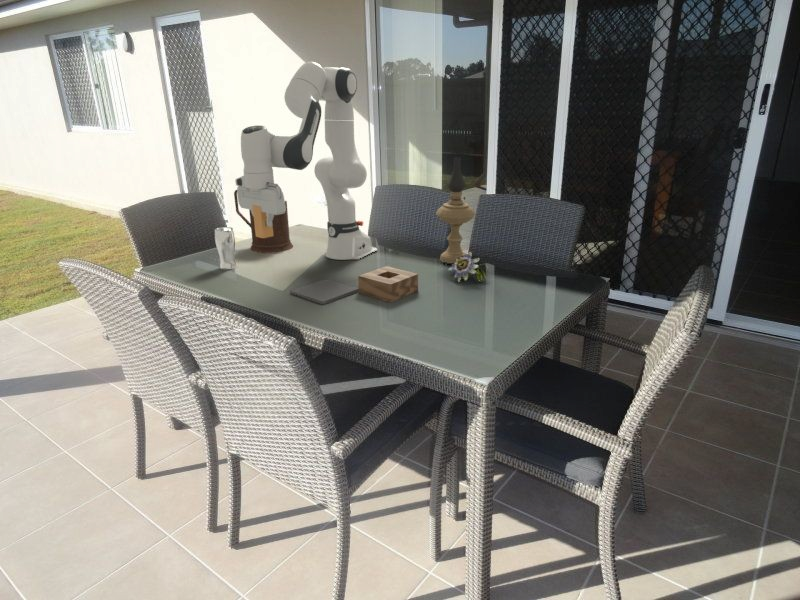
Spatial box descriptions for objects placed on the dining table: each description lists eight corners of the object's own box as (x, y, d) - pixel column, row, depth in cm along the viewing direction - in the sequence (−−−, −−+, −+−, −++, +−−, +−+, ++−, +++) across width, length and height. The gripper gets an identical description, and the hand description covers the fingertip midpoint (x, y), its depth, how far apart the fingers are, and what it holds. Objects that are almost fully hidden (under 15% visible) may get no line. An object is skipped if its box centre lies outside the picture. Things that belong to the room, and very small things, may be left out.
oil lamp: (479, 264, 208) (485, 158, 194) (445, 268, 203) (448, 160, 189) (461, 254, 221) (465, 154, 207) (428, 258, 216) (430, 156, 202)
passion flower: (459, 296, 190) (440, 268, 189) (474, 282, 198) (456, 255, 197) (481, 285, 182) (462, 255, 181) (496, 271, 189) (478, 243, 188)
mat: (326, 281, 188) (325, 279, 188) (358, 291, 179) (358, 288, 178) (290, 293, 177) (290, 290, 177) (323, 304, 167) (322, 301, 167)
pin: (266, 234, 174) (263, 203, 171) (273, 236, 172) (270, 205, 168) (255, 236, 172) (252, 205, 168) (263, 238, 169) (260, 206, 166)
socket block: (386, 282, 188) (386, 266, 185) (418, 291, 179) (418, 273, 177) (358, 292, 178) (358, 275, 175) (390, 302, 169) (390, 284, 167)
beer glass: (240, 265, 208) (236, 227, 203) (233, 270, 202) (229, 231, 196) (223, 264, 209) (218, 226, 204) (215, 269, 202) (210, 230, 197)
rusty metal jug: (283, 254, 223) (278, 193, 214) (230, 251, 228) (223, 192, 219) (299, 243, 240) (295, 187, 231) (250, 240, 245) (244, 185, 236)
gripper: (288, 183, 161) (292, 227, 166) (248, 177, 174) (253, 219, 179) (271, 185, 157) (275, 231, 162) (232, 179, 170) (237, 222, 174)
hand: (263, 225), depth 171 cm, fingers closed on pin, 4 cm apart
